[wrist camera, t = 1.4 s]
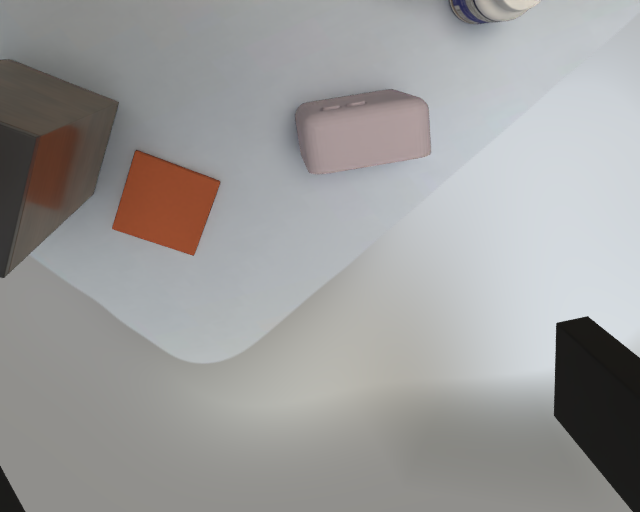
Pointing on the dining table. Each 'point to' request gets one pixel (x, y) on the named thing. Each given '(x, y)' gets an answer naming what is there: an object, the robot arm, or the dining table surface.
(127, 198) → the terracotta mat
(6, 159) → the block
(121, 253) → the dining table surface
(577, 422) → the robot arm
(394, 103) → the electronic device
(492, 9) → the pill bottle
